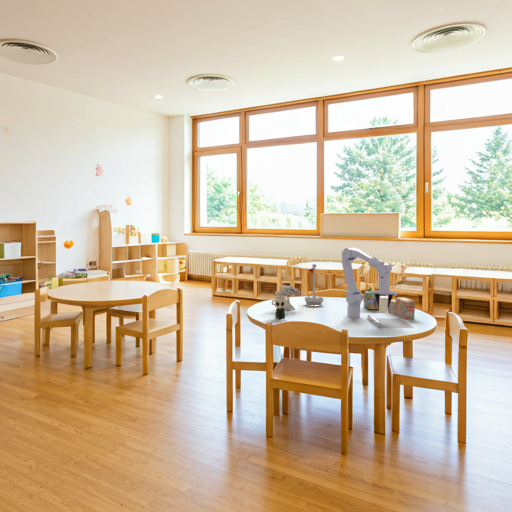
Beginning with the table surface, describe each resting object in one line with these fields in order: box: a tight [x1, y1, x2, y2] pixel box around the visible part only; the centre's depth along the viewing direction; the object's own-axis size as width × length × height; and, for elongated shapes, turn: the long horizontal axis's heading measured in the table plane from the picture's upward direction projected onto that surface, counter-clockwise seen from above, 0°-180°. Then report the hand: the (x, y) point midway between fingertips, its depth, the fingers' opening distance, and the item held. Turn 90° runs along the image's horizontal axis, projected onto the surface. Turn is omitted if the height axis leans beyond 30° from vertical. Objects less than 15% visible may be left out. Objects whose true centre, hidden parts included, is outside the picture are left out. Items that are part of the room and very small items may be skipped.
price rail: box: [366, 313, 382, 329], centre depth 239 cm, size 22×2×2 cm, turn 0°
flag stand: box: [304, 263, 324, 307], centre depth 295 cm, size 13×13×30 cm
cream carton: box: [378, 295, 388, 314], centre depth 238 cm, size 5×11×8 cm, turn 160°
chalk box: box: [363, 286, 380, 310], centre depth 283 cm, size 9×9×15 cm
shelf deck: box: [373, 317, 414, 329], centre depth 239 cm, size 22×20×1 cm
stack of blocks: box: [387, 297, 416, 320], centre depth 259 cm, size 21×6×12 cm, turn 11°
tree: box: [274, 284, 302, 311], centre depth 281 cm, size 18×16×17 cm
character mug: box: [271, 295, 290, 319], centre depth 256 cm, size 11×7×13 cm, turn 83°
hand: (383, 307), depth 239 cm, fingers closed on cream carton, 5 cm apart
